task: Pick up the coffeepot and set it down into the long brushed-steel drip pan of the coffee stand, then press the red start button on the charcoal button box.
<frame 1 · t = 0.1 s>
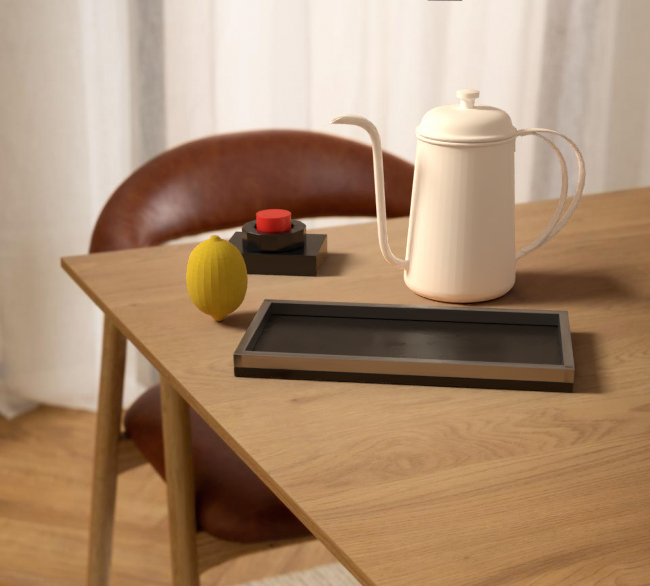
start button box: (275, 263, 124), on the table
coffeepot: (453, 290, 117), on the table
start button: (273, 221, 122), point 4 cm above the table, slide at 0.1 cm
drip pan: (407, 353, 101), on the table
lemon: (219, 323, 109), on the table
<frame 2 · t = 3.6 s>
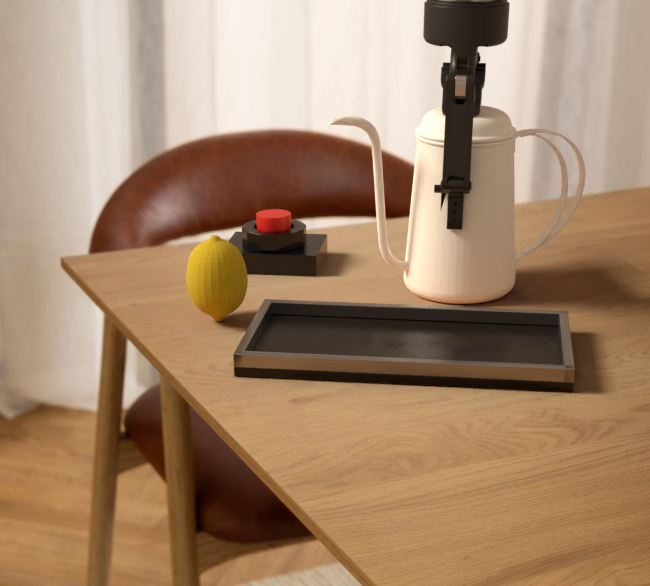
hand: (455, 245, 115), 4 cm above the table, tool pointing down, fingers closed on coffeepot, 9 cm apart
coffeepot: (453, 291, 116), on the table, touching gripper
everything else where it was.
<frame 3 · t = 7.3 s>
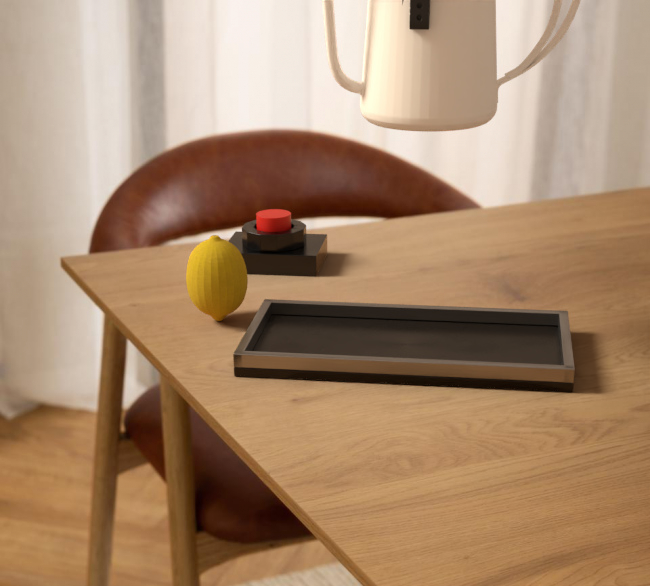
hand: (424, 65, 93), 23 cm above the table, tool pointing down, fingers closed on coffeepot, 9 cm apart
coffeepot: (421, 124, 95), point 19 cm above the table, touching gripper
everything else where it was.
when the fingers open (5 cm above the table, at t = 11.1 s): coffeepot stays where it is, resting on drip pan.
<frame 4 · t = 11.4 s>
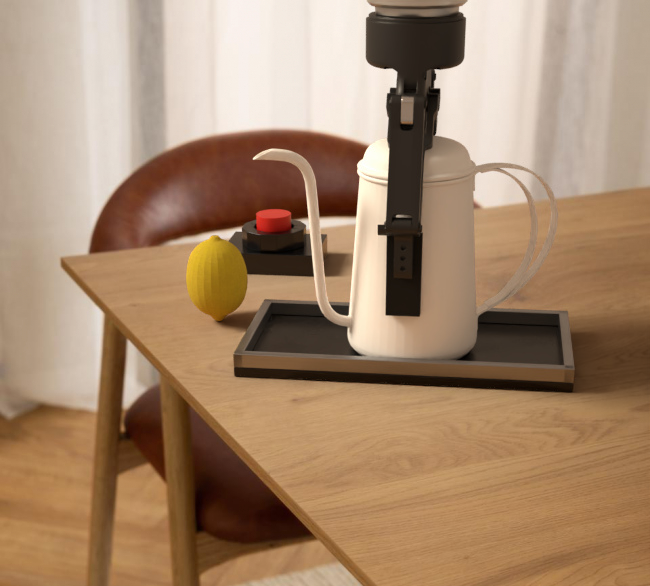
hand: (408, 290, 99), 6 cm above the table, tool pointing down, fingers open, 11 cm apart
coffeepot: (405, 349, 100), point 1 cm above the table, touching drip pan
everything else where it was.
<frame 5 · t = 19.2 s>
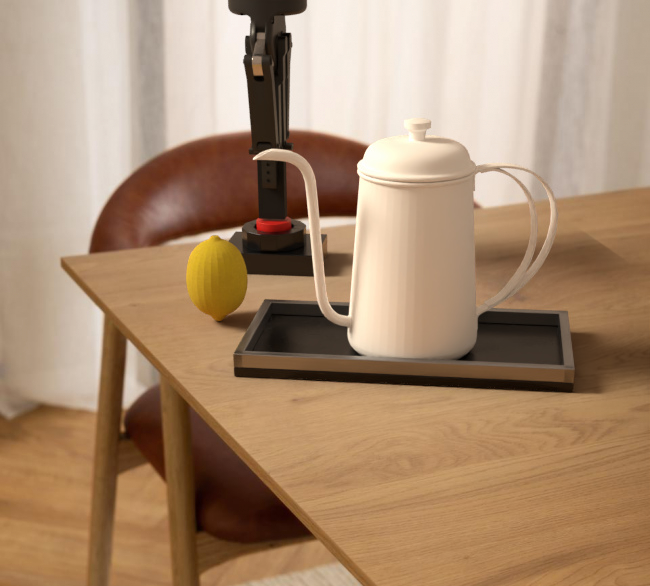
hand: (273, 216, 122), 5 cm above the table, tool pointing down, fingers closed
start button: (274, 227, 122), point 4 cm above the table, slide at -0.6 cm, touching gripper
everything else where it was.
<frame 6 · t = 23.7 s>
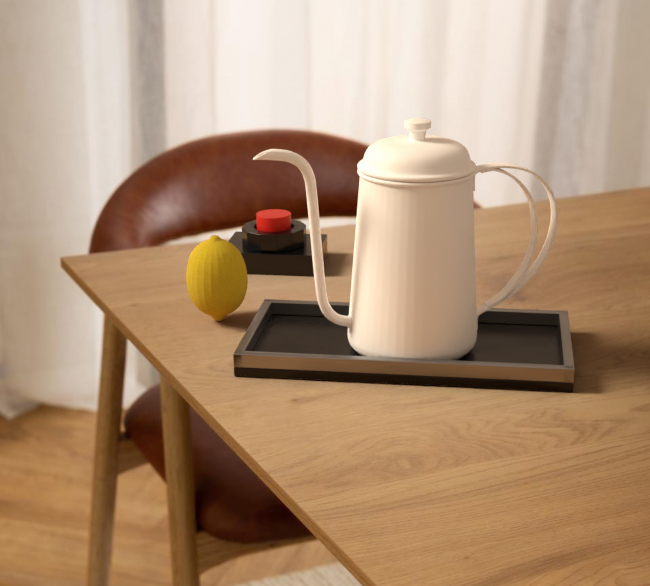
start button: (273, 221, 122), point 4 cm above the table, slide at 0.1 cm
everything else where it was.
at the end: coffeepot 0.8 cm off-centre on the drip pan, point 0.6 cm above the drip pan's base; coffeepot tilted 0°; start button pushed in 1.0 cm at the most during the clip, back to where it started at the end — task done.
